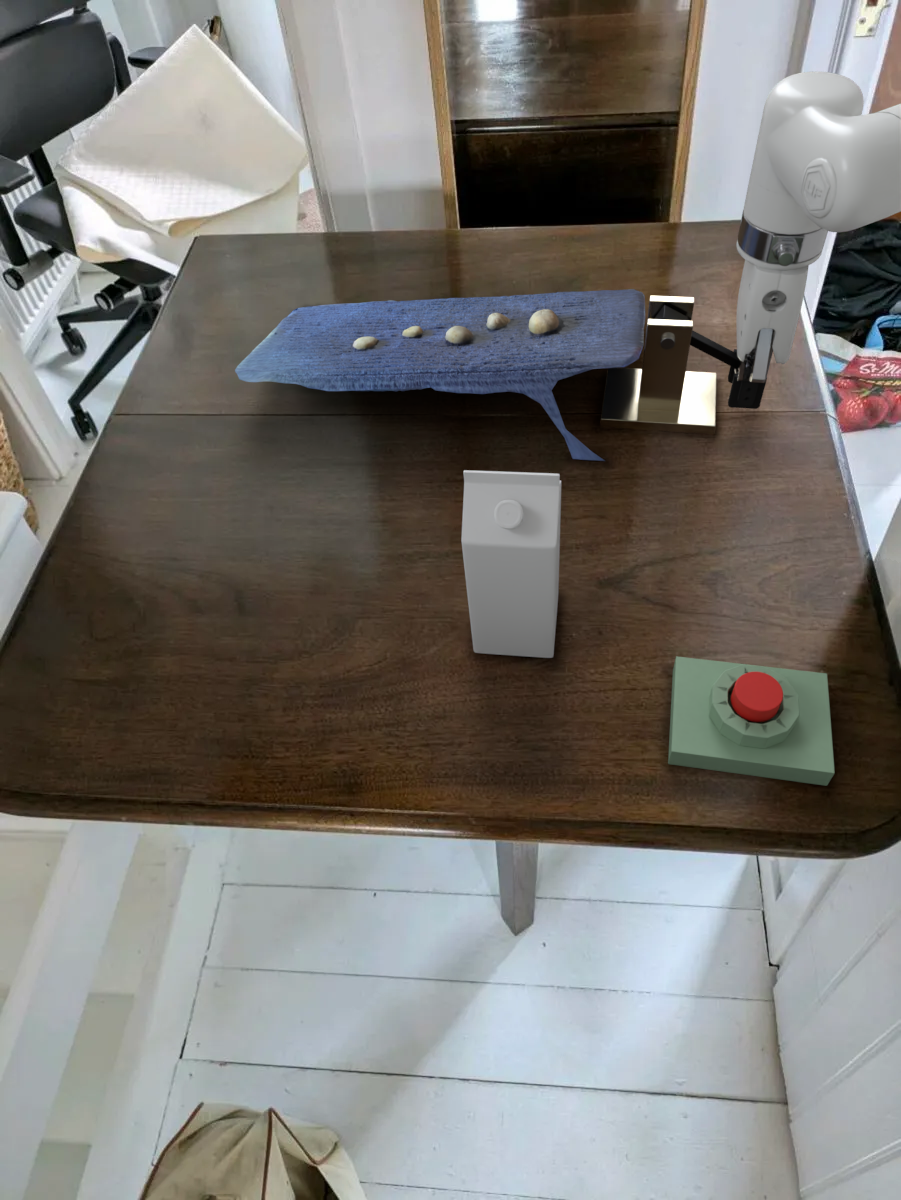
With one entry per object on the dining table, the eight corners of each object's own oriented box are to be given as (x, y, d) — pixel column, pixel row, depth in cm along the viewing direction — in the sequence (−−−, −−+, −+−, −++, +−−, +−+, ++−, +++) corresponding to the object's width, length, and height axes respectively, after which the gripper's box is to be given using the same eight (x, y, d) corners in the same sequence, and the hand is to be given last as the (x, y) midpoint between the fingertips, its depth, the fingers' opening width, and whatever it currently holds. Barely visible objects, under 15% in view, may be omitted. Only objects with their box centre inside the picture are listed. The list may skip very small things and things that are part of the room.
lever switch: (753, 376, 91) (773, 354, 88) (753, 395, 89) (774, 374, 87) (649, 322, 88) (667, 298, 86) (647, 340, 86) (665, 317, 84)
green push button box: (820, 687, 71) (833, 661, 68) (827, 786, 66) (841, 762, 63) (672, 670, 73) (678, 643, 70) (668, 764, 68) (674, 740, 65)
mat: (241, 467, 97) (214, 370, 90) (312, 375, 119) (294, 291, 112) (645, 460, 88) (648, 351, 81) (642, 362, 110) (644, 270, 103)
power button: (777, 685, 67) (782, 674, 66) (779, 725, 65) (784, 714, 64) (730, 680, 68) (734, 668, 67) (730, 719, 66) (734, 708, 65)
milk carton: (482, 591, 80) (469, 438, 65) (558, 596, 79) (562, 441, 64) (473, 654, 76) (457, 505, 61) (553, 659, 75) (556, 510, 60)
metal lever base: (714, 381, 96) (733, 287, 87) (713, 434, 91) (733, 340, 81) (607, 375, 98) (614, 282, 89) (600, 427, 93) (606, 334, 83)
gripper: (833, 286, 71) (782, 449, 86) (820, 186, 81) (776, 348, 95) (740, 283, 72) (705, 444, 87) (738, 185, 82) (707, 345, 97)
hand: (743, 392), depth 91 cm, fingers closed on lever switch, 3 cm apart
